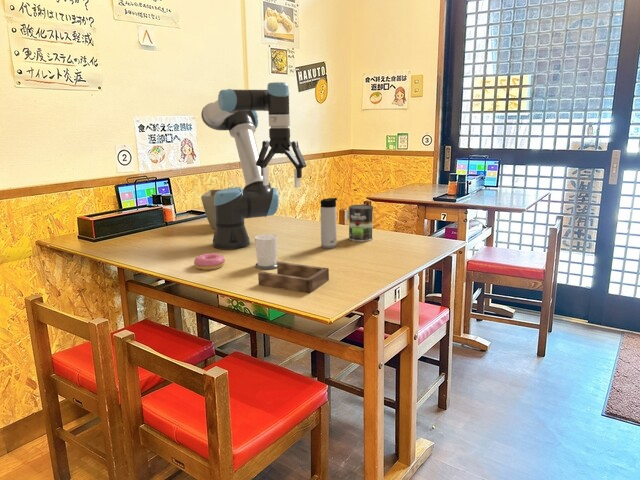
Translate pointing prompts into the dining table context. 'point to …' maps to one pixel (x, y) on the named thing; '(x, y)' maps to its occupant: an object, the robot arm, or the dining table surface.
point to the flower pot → (210, 206)
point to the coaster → (267, 267)
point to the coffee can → (360, 223)
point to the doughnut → (209, 261)
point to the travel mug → (328, 223)
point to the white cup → (266, 249)
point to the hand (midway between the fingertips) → (281, 186)
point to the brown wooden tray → (295, 277)
